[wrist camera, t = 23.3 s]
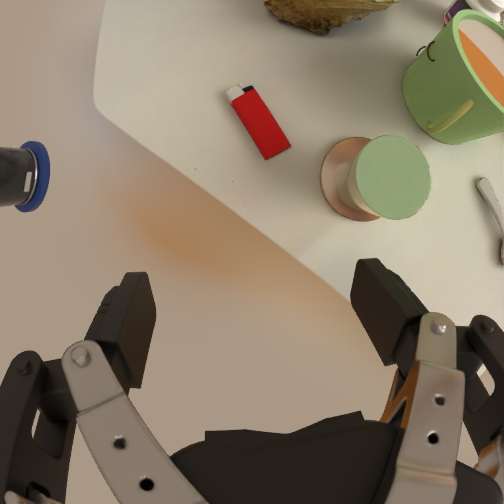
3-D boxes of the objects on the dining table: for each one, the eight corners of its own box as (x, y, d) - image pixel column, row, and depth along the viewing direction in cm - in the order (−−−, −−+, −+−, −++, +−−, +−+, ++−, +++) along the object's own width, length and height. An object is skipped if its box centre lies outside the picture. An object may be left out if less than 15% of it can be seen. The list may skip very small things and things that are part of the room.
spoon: (502, 274, 23) (511, 277, 21) (468, 186, 23) (477, 185, 21) (515, 261, 23) (524, 263, 21) (482, 174, 23) (491, 172, 21)
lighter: (263, 159, 25) (222, 92, 24) (265, 160, 26) (225, 96, 25) (290, 144, 24) (247, 78, 23) (291, 146, 25) (249, 82, 24)
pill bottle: (475, 51, 18) (513, 22, 9) (440, 27, 19) (473, -10, 9) (475, 27, 17) (509, -2, 8) (443, 5, 18) (471, -31, 8)
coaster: (322, 222, 26) (323, 222, 25) (316, 139, 25) (316, 137, 24) (400, 219, 25) (403, 220, 24) (394, 139, 23) (397, 138, 23)
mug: (424, 44, 20) (469, -8, 8) (486, 110, 20) (549, 85, 9) (369, 105, 23) (412, 52, 11) (440, 179, 23) (514, 174, 12)
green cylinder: (399, 186, 23) (445, 183, 15) (361, 223, 25) (393, 237, 16) (362, 143, 23) (393, 118, 15) (322, 180, 25) (337, 171, 16)
